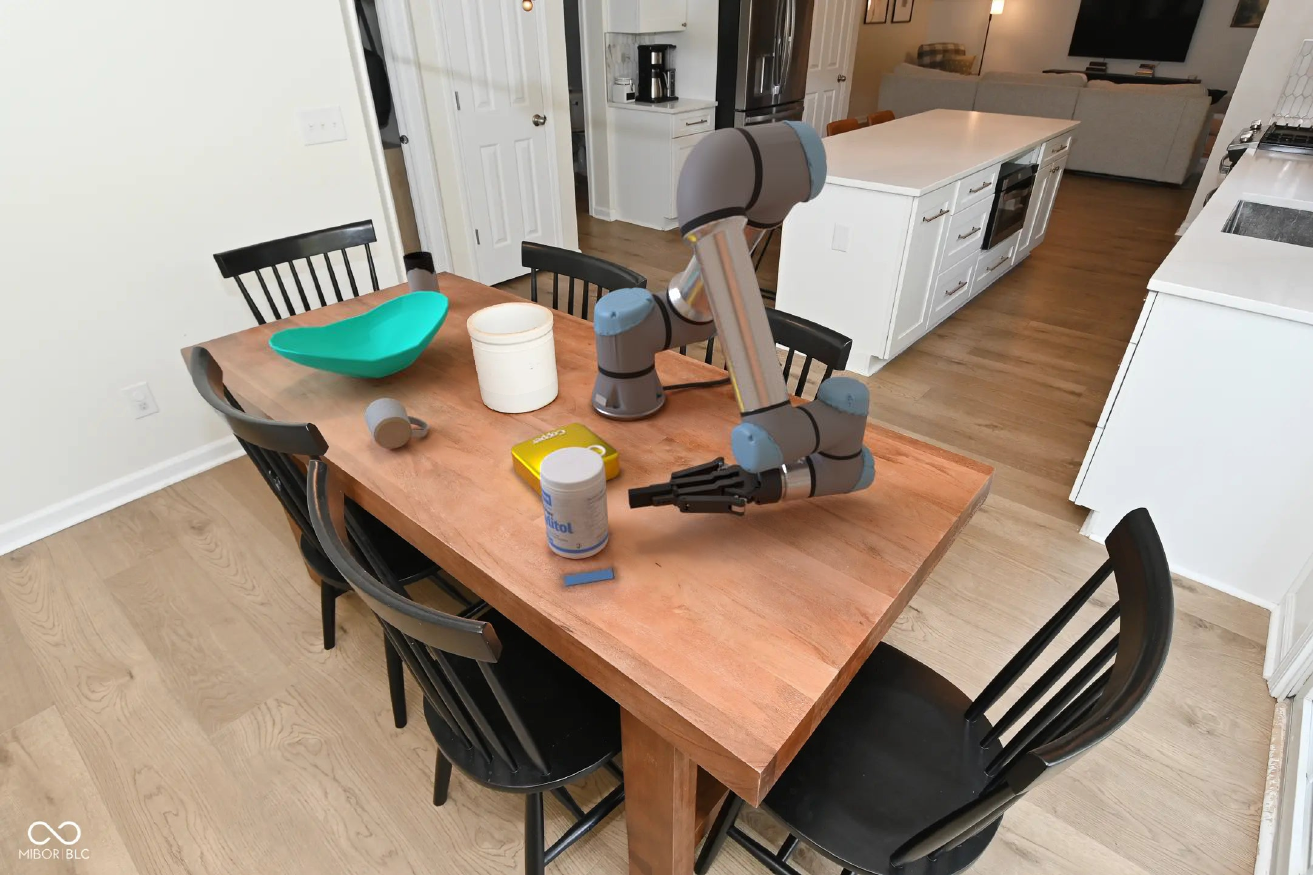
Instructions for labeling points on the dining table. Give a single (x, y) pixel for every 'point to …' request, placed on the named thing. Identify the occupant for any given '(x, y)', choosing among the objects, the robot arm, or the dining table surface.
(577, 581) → the tape marks
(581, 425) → the element tile
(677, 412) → the dining table surface
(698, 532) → the dining table surface
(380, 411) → the ceramic mug
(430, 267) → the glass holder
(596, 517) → the supplement tub
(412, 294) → the table top decor
